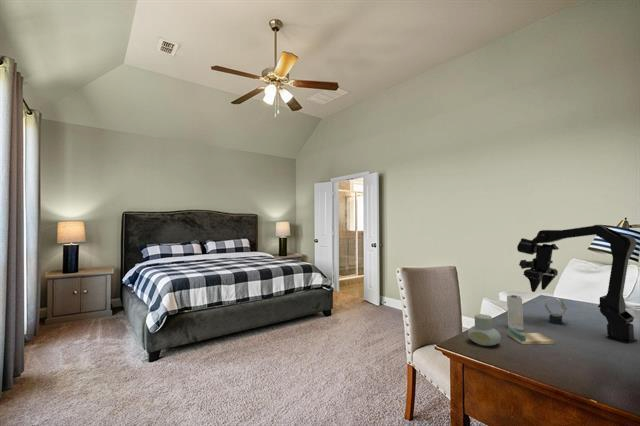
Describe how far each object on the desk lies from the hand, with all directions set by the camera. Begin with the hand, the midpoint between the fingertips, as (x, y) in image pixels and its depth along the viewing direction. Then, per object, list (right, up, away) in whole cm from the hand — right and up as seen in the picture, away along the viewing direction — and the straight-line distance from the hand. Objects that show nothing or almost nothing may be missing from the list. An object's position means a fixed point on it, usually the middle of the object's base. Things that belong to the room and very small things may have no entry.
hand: (538, 290), depth 140 cm
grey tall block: (-16, -14, -9) cm, 23 cm away
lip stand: (-19, -13, -23) cm, 33 cm away
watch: (+6, -14, -3) cm, 15 cm away
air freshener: (-38, -13, -26) cm, 48 cm away
